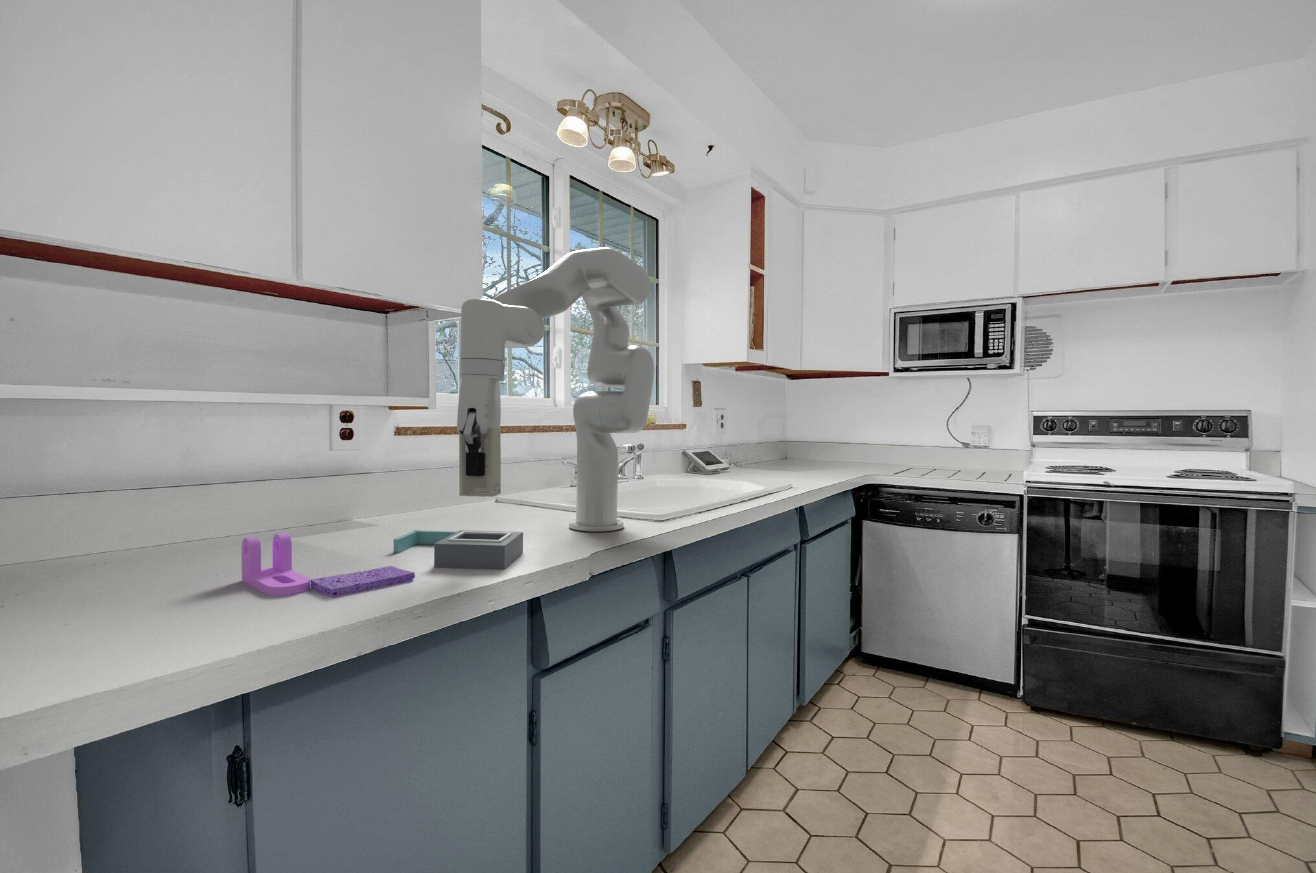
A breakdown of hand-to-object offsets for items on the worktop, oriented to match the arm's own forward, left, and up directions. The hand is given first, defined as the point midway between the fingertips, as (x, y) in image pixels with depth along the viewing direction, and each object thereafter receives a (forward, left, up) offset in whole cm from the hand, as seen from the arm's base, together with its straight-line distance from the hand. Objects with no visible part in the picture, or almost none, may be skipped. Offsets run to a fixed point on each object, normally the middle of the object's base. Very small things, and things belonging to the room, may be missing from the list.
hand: (480, 473), depth 108 cm
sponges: (+17, -12, -16) cm, 26 cm away
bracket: (+18, -24, -16) cm, 34 cm away
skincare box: (0, 0, -4) cm, 4 cm away
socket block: (0, 0, -15) cm, 15 cm away
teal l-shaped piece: (-8, -12, -15) cm, 21 cm away
